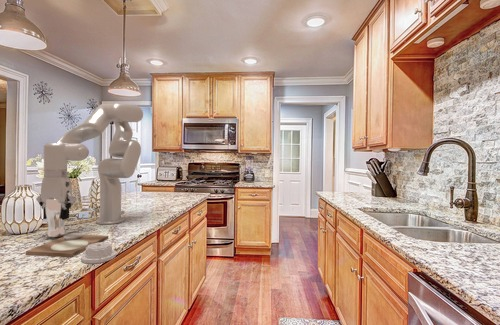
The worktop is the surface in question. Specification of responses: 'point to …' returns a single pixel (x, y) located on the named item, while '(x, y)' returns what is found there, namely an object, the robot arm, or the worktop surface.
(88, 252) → the mechanical component
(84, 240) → the carrier plate
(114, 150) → the robot arm
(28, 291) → the worktop surface
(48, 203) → the beer glass
